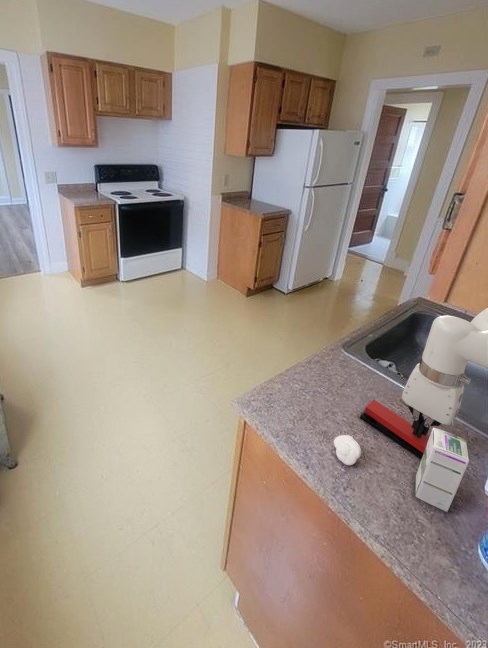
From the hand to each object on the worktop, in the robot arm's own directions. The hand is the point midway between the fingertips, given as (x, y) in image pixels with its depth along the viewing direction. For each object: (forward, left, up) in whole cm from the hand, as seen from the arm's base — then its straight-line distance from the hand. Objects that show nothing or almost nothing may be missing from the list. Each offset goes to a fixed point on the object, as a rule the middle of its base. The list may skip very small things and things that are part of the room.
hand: (418, 433), depth 77 cm
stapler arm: (+4, 0, -2) cm, 5 cm away
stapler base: (+4, 0, -4) cm, 6 cm away
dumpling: (+9, +16, -4) cm, 19 cm away
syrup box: (-7, +10, -4) cm, 13 cm away
